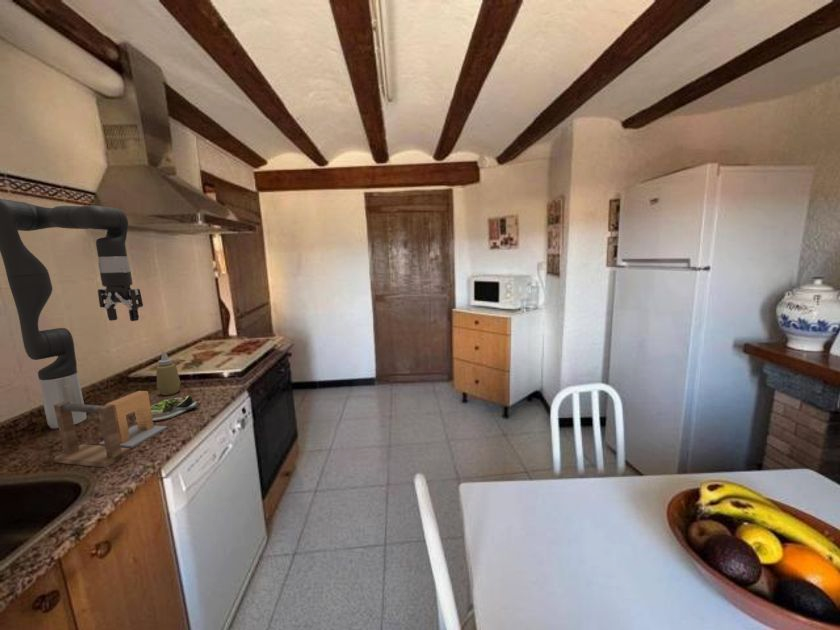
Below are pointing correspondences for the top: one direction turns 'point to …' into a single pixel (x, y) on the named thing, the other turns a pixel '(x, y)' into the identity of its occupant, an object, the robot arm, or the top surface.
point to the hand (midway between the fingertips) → (123, 320)
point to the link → (128, 405)
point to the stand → (85, 453)
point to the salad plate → (171, 408)
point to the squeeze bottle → (167, 376)
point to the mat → (139, 435)
